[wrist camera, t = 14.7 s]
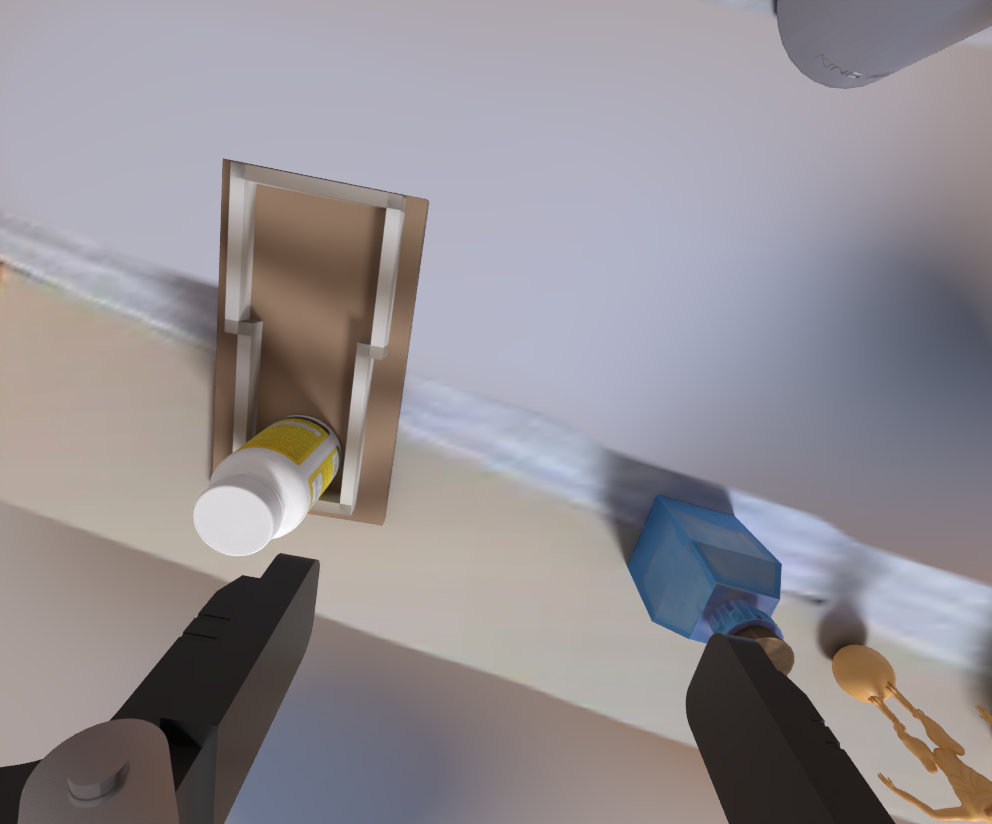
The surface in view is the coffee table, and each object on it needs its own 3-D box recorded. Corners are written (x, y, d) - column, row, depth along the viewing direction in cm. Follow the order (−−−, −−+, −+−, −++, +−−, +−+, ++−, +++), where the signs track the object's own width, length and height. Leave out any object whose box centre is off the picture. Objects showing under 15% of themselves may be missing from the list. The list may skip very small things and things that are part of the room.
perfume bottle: (627, 566, 38) (685, 695, 27) (657, 494, 36) (733, 599, 25) (701, 585, 39) (791, 721, 27) (734, 516, 37) (845, 628, 25)
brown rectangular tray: (231, 162, 30) (208, 152, 28) (429, 201, 31) (423, 196, 28) (219, 492, 36) (199, 508, 34) (385, 518, 37) (377, 536, 34)
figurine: (873, 607, 39) (1032, 748, 28) (917, 649, 40) (1087, 801, 29) (789, 672, 41) (907, 830, 29) (834, 710, 42) (964, 877, 31)
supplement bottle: (249, 430, 34) (155, 494, 24) (320, 401, 33) (253, 453, 24) (288, 498, 35) (214, 583, 26) (357, 470, 35) (307, 546, 25)
